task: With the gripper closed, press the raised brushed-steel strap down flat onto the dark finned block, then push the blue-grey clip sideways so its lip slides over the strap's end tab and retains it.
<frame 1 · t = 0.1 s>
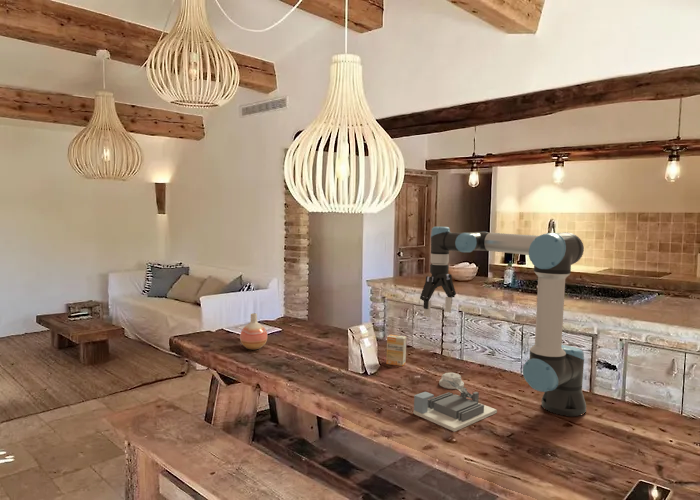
hand: (437, 314, 212), 28 cm above the table, fingers open, 13 cm apart
heatsink: (455, 413, 180), on the table
strap: (459, 387, 180), point 9 cm above the table, hinge at 35.0°
supplement box: (395, 364, 234), on the table
mechanical component: (451, 385, 208), on the table
clip: (423, 402, 179), point 4 cm above the table, slide at 0.0 cm
vase: (253, 348, 256), on the table
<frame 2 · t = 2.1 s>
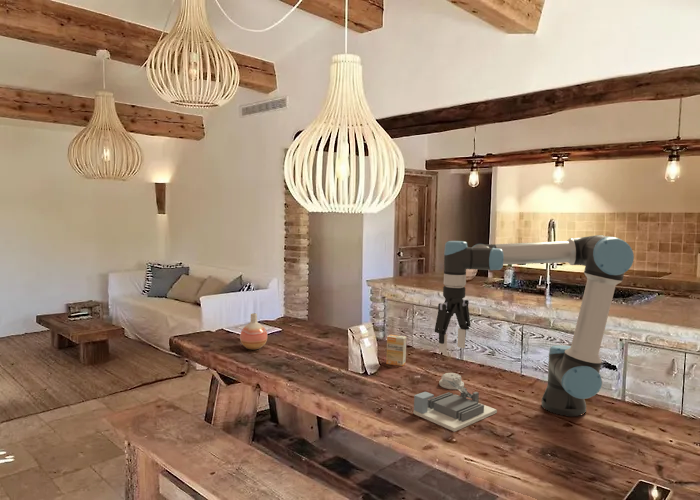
hand: (452, 349, 176), 24 cm above the table, fingers open, 9 cm apart
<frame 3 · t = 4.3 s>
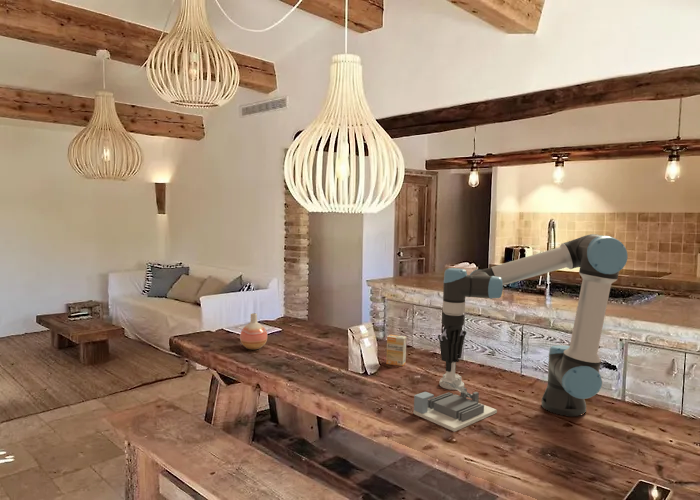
hand: (450, 379, 176), 13 cm above the table, fingers closed
strap: (458, 388, 180), point 9 cm above the table, hinge at 32.4°, touching gripper
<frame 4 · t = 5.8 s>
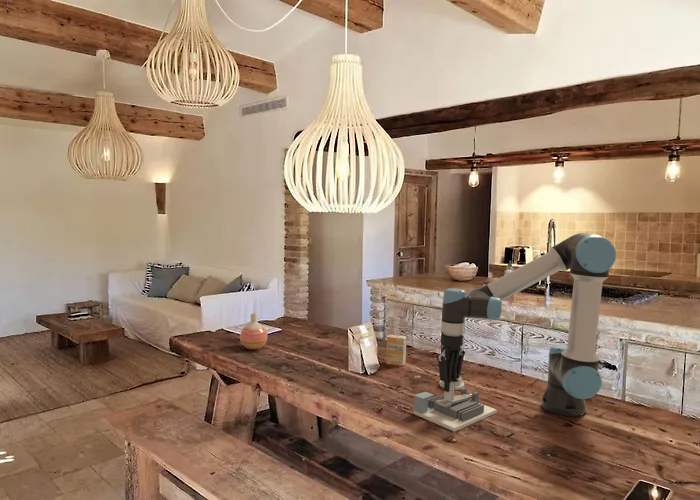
hand: (448, 399, 177), 6 cm above the table, fingers closed, pressing on strap
strap: (456, 399, 179), point 5 cm above the table, hinge at 3.2°, touching gripper
everything else where it was.
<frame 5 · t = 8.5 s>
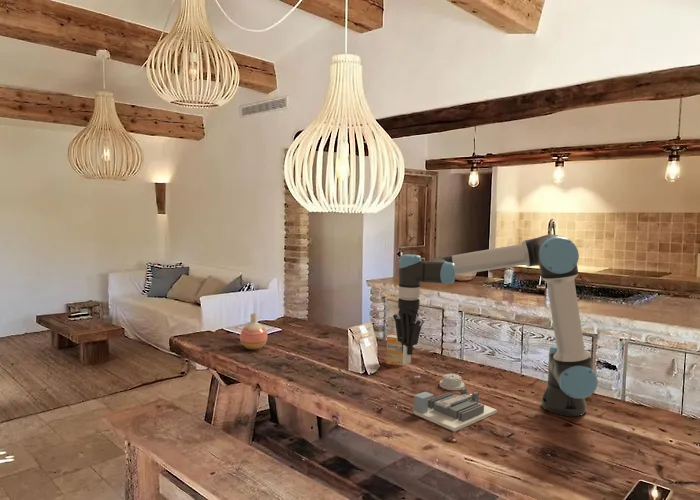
hand: (406, 362, 182), 17 cm above the table, fingers closed
strap: (456, 400, 179), point 5 cm above the table, hinge at 1.8°
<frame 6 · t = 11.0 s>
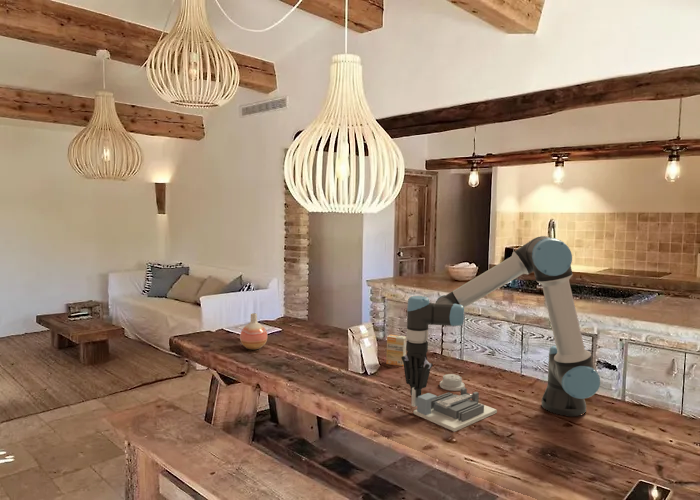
hand: (415, 405, 180), 2 cm above the table, fingers closed
clip: (427, 403, 178), point 4 cm above the table, slide at 1.5 cm, touching gripper
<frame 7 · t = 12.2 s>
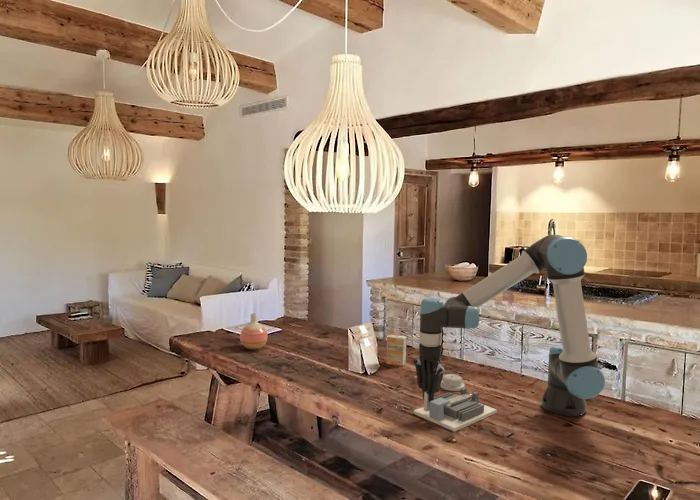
hand: (427, 409, 176), 3 cm above the table, fingers closed
clip: (439, 408, 173), point 4 cm above the table, slide at 7.1 cm, touching gripper
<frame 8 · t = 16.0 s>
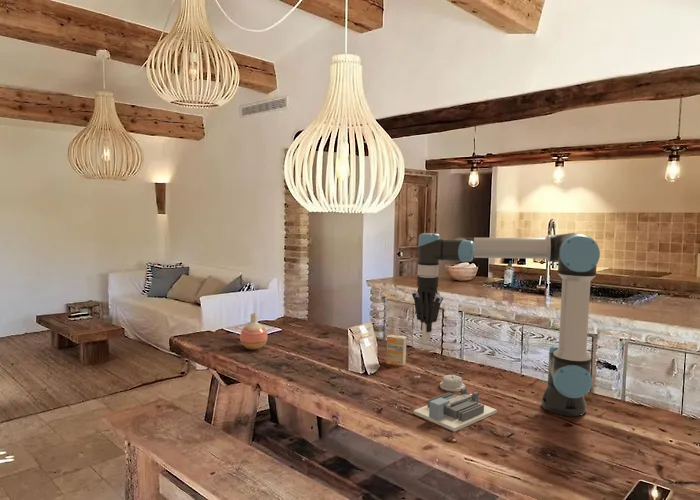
hand: (425, 340, 185), 24 cm above the table, fingers closed
clip: (439, 408, 174), point 4 cm above the table, slide at 7.0 cm
at the end: strap at +2° (first picture: +35°); clip slide at 7.0 cm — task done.
